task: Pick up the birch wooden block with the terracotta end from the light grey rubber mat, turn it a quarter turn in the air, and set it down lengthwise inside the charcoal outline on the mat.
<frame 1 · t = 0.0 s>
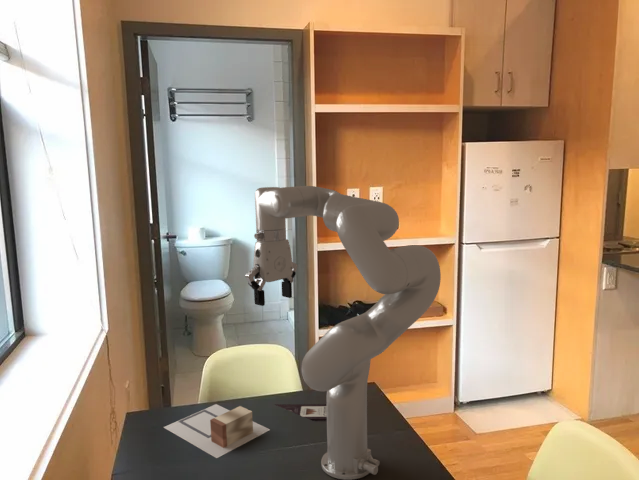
hand: (273, 300, 136), 37 cm above the table, tool pointing down, fingers open, 9 cm apart
chocolate bar: (300, 415, 152), on the table
mat: (216, 430, 143), on the table
block: (232, 436, 138), point 1 cm above the table, touching mat
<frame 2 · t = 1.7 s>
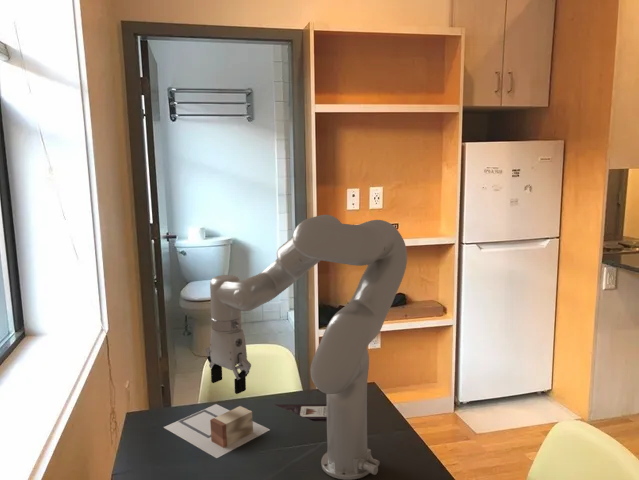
hand: (228, 386, 137), 15 cm above the table, tool pointing down, fingers open, 9 cm apart
nothing on the table moved.
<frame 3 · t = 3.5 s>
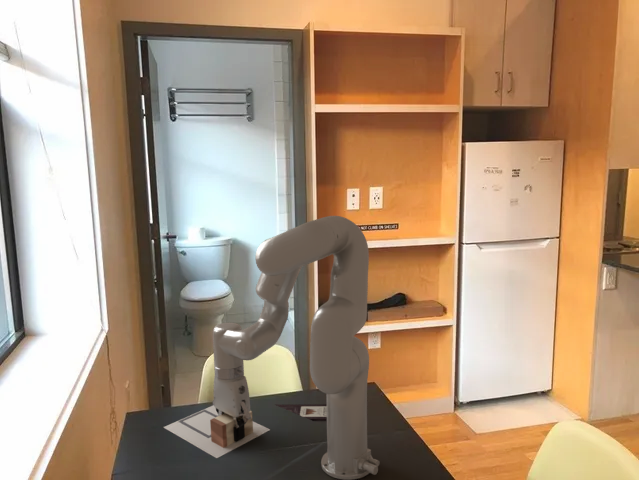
hand: (232, 435, 138), 1 cm above the table, tool pointing down, fingers closed on block, 5 cm apart
block: (232, 436, 138), point 1 cm above the table, touching gripper, mat
everything else where it was.
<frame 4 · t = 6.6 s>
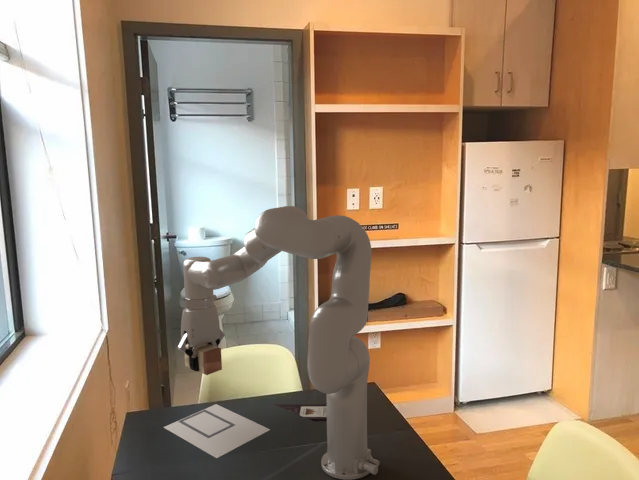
hand: (203, 366, 143), 17 cm above the table, tool pointing down, fingers closed on block, 5 cm apart
block: (203, 367, 144), point 17 cm above the table, touching gripper
everything else where it was.
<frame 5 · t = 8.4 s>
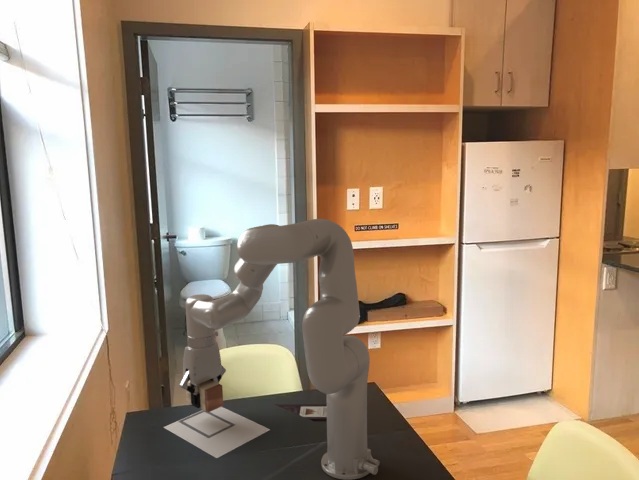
hand: (204, 402, 145), 7 cm above the table, tool pointing down, fingers closed on block, 5 cm apart
block: (204, 403, 145), point 6 cm above the table, touching gripper
everything else where it was.
when the fingers open (2 cm above the table, at t = 9.7 s): block drops 1 cm, resting on mat.
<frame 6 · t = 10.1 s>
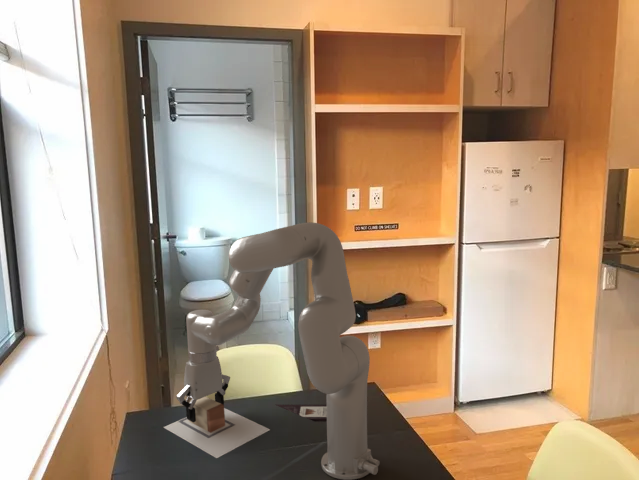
hand: (205, 414, 146), 3 cm above the table, tool pointing down, fingers open, 9 cm apart
block: (206, 423, 146), point 1 cm above the table, touching mat
everything else where it was.
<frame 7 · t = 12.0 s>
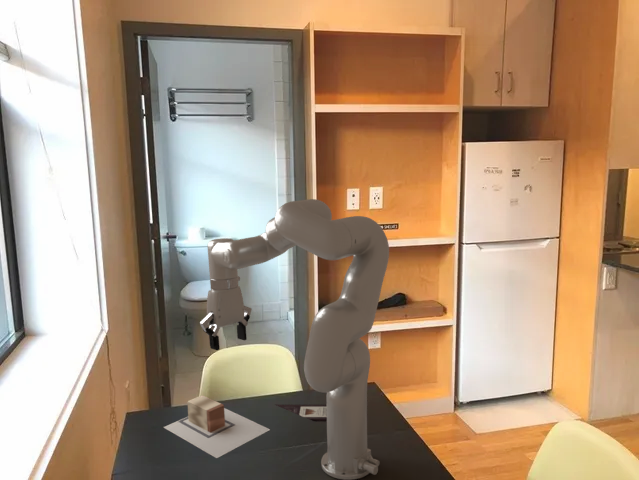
hand: (228, 344, 145), 23 cm above the table, tool pointing down, fingers open, 9 cm apart
nothing on the table moved.
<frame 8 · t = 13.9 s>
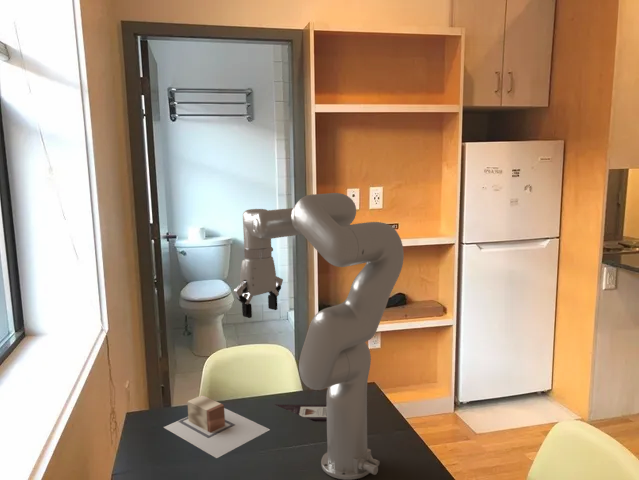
hand: (260, 313, 148), 30 cm above the table, tool pointing down, fingers open, 9 cm apart
nothing on the table moved.
at the end: block 0.1 cm from the target spot on the mat, point 0.6 cm above the mat's base; block tilted 0°; the gripper is holding nothing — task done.
